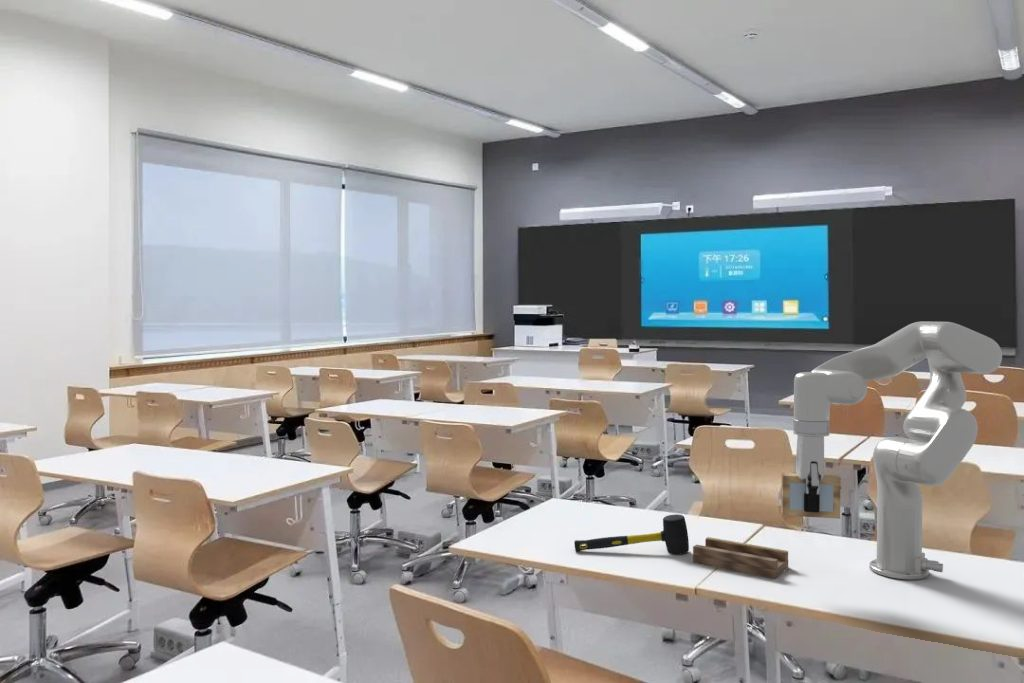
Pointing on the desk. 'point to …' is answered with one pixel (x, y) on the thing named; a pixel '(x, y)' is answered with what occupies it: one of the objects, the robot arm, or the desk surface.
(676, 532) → the mallet
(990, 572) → the desk surface
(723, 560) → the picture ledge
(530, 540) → the desk surface
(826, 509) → the wooden picture frame
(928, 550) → the desk surface
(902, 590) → the desk surface
